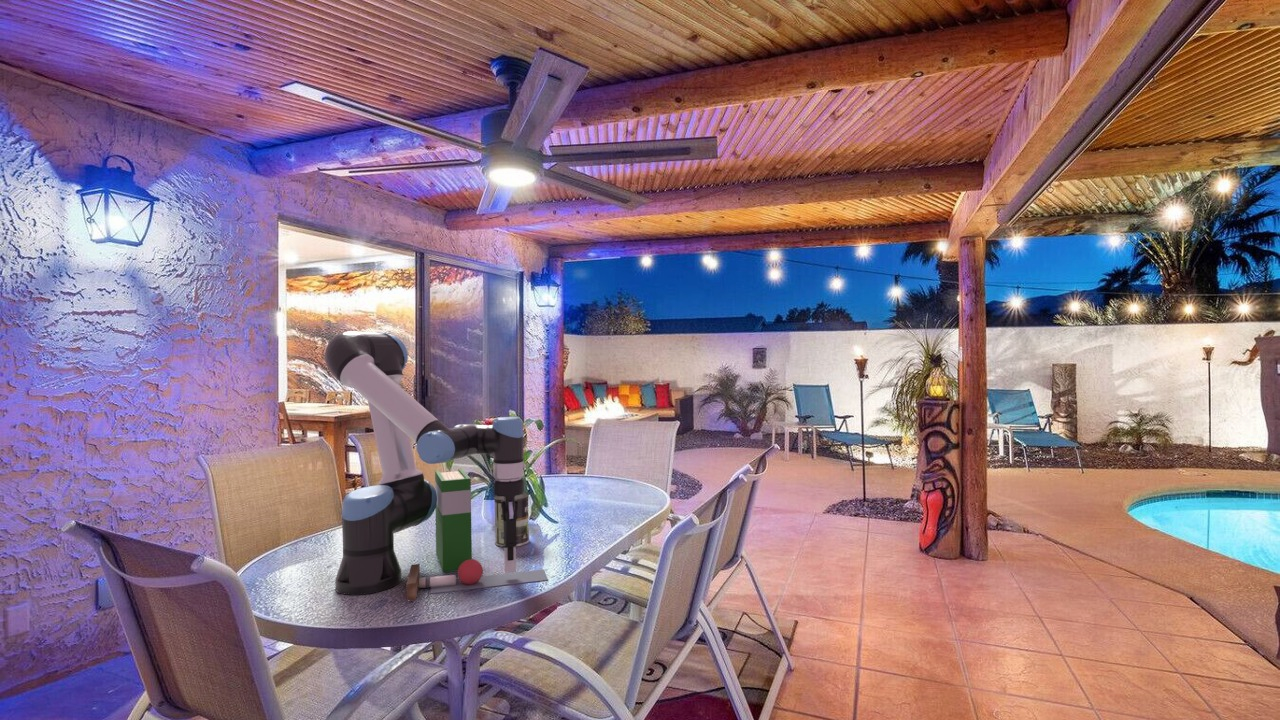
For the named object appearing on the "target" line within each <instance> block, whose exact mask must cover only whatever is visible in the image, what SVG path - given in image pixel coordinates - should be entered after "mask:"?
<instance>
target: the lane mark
mask: <svg viewBox="0 0 1280 720" xmlns="http://www.w3.org/2000/svg"><path fill="white" fill-rule="evenodd" d="M547 581H549V578H548V576H547V573H546V571H545V569H534V570H533V569H532V570H525V571H516V572H512V573H497V574H490V575H482V576H481V578H480V580H479V581H478V582H476V583H475V584H472V585H467V584H464V583H462V582H461V581H460V580H459V578H456V585H449V586H438V587H430V595H434V594H443V593H451V592H461V591H468V590H477V589H483V588H484V589H485V588H495V587H502V586H503V587H504V586H511V585H512V586H513V585H520V584H531V583H535V582H536V583H539V582H547Z"/></svg>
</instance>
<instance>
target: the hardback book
mask: <svg viewBox="0 0 1280 720" xmlns="http://www.w3.org/2000/svg"><path fill="white" fill-rule="evenodd" d="M471 482H472V479H471V477H470V476H469V475H468V474H467V473H466V472H465V470H463V468H458V469H457V471H456V470H454V471H447V472H446V471H442V472H440V470H439V469H437V470H434V486H435V487H434V488H435V491H436V494H437V505H436V508H435V554H436V557H437V560H438V562H439V565H440V568H441V571H442V573H449V572H450V573H451V572H455V571H457V572H458V568H459V566H460V565H461V564H462V563H463V562H464V561H466V560H469V559H473V557H472V556H473V555H472V554H473V553H472V552H473V551H472V550H473V549H472V548H473V547H472V543H473V542H472V483H471Z"/></svg>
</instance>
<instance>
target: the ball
mask: <svg viewBox="0 0 1280 720" xmlns="http://www.w3.org/2000/svg"><path fill="white" fill-rule="evenodd" d="M483 569H484V568H483V566H482V563H480V561H478V560H476V559H473V558H472V559H469V560H466V561H464V562H463V563H462V564H461V565H460V566H459V568H458V570H457V577H458V578H457V579H459V580H460V581H461V582H462V583H464V584H467V585H472V584H475V583H476V582H478V581H479V580H480V578H481V576H483V574H484V573H483V571H484V570H483Z"/></svg>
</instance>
